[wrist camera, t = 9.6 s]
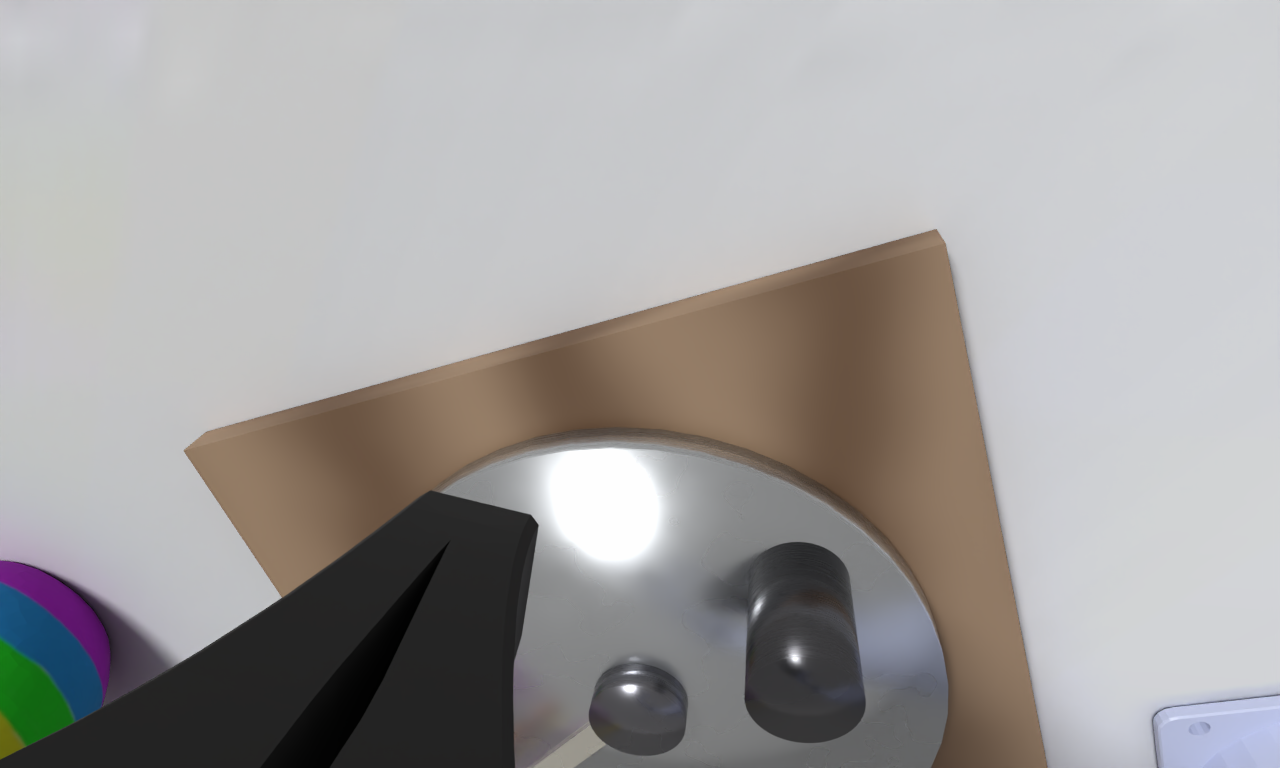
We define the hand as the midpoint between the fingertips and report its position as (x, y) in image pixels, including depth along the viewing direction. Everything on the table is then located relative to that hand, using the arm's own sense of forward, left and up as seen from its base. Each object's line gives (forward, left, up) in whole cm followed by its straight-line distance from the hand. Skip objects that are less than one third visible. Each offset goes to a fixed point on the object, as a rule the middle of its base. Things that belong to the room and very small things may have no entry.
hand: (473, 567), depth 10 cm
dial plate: (+3, +11, -10) cm, 15 cm away
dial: (+3, +11, -9) cm, 15 cm away
